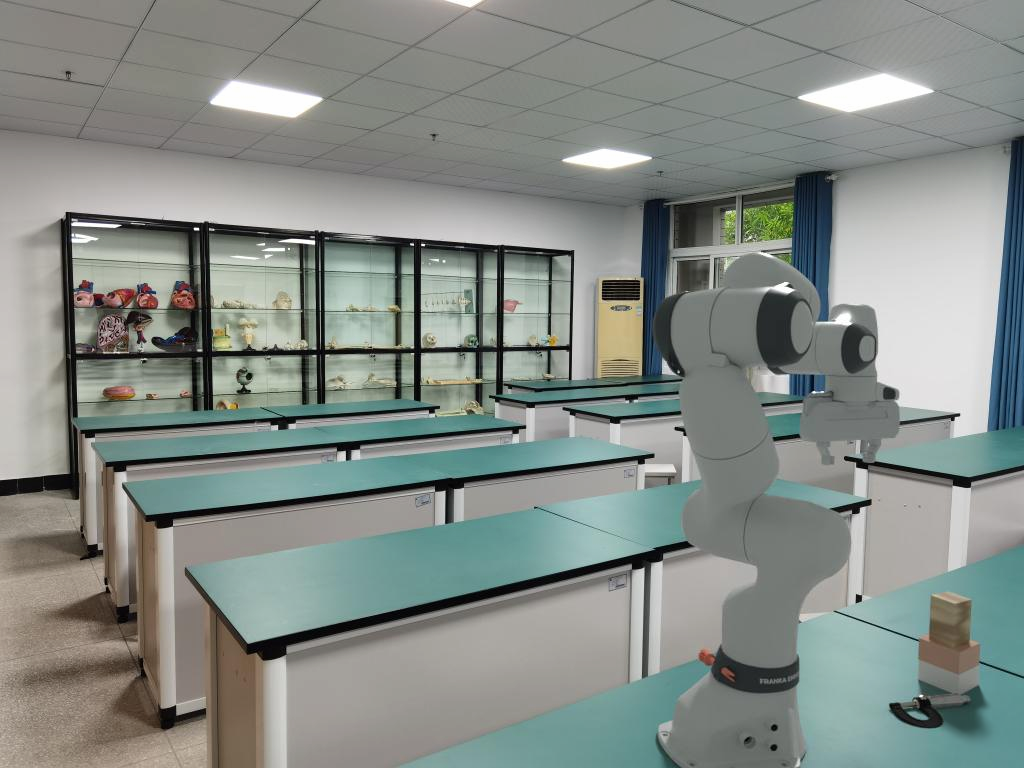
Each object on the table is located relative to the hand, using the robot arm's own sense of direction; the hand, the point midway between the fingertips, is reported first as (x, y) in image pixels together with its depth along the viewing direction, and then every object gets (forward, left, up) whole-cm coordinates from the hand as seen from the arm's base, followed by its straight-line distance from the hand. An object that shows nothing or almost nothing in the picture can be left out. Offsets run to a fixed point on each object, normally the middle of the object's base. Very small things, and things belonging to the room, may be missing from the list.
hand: (848, 463), depth 135 cm
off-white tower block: (+12, -13, -39) cm, 43 cm away
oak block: (+12, -13, -31) cm, 35 cm away
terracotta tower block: (+12, -13, -35) cm, 39 cm away
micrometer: (+1, -21, -39) cm, 44 cm away
